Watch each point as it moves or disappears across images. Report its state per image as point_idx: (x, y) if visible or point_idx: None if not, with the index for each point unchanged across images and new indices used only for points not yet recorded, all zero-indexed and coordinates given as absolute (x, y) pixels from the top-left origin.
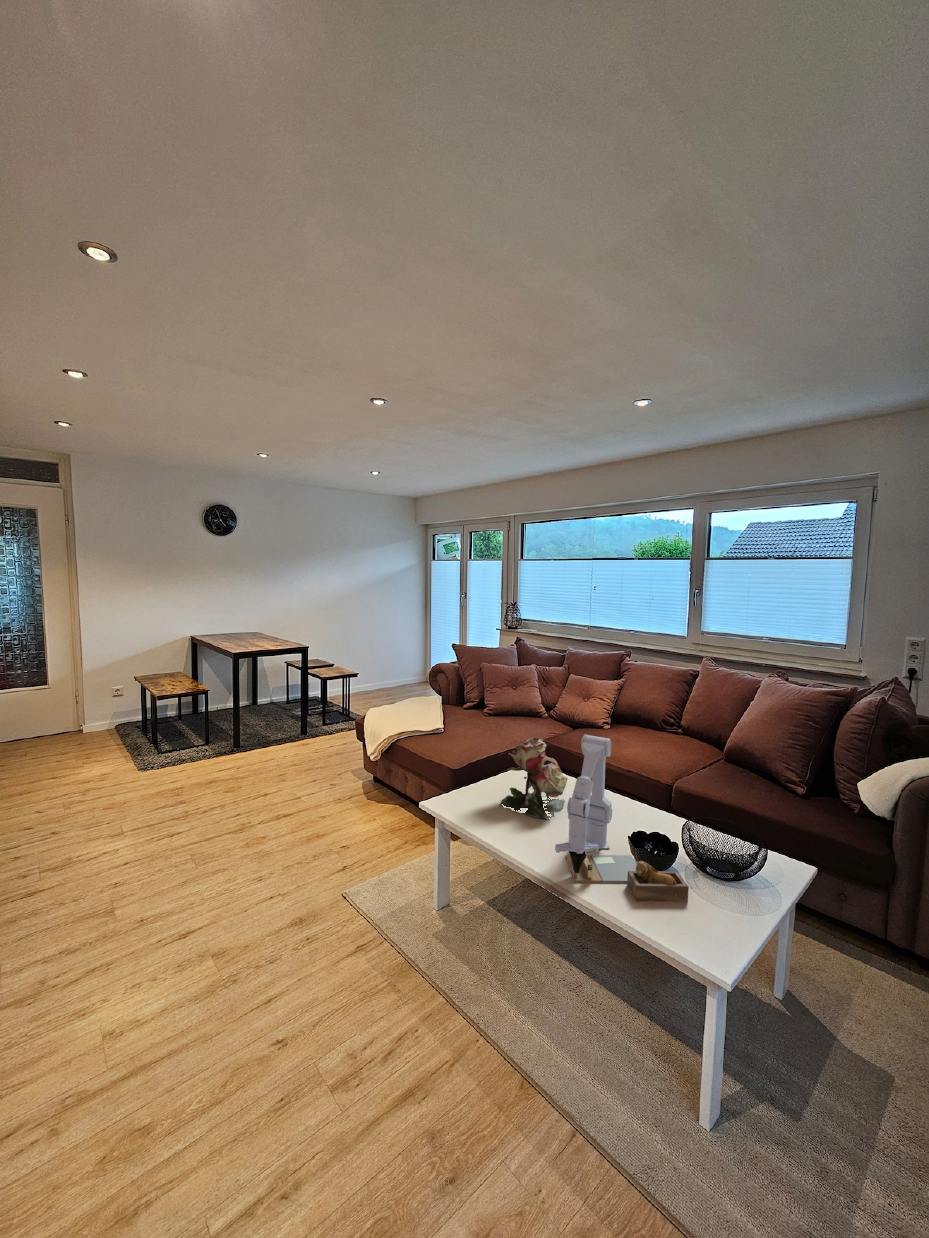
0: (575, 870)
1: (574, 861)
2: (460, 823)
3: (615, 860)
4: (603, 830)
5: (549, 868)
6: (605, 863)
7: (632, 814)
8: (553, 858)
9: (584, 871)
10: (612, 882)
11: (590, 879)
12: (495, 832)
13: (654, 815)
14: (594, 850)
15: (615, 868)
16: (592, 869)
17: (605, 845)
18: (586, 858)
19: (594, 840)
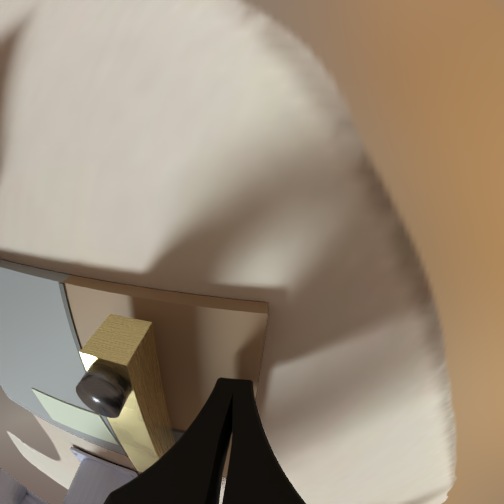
0: (250, 396)
1: (268, 477)
2: (443, 491)
3: (36, 399)
4: (70, 502)
5: (368, 421)
6: (63, 402)
7: (55, 475)
8: (304, 466)
9: (168, 389)
10: (27, 266)
11: (138, 308)
12: (402, 498)
13: (23, 455)
14: (31, 496)
15: (25, 361)
16: (88, 364)
17: (83, 458)
18: (136, 457)
19: (110, 487)
